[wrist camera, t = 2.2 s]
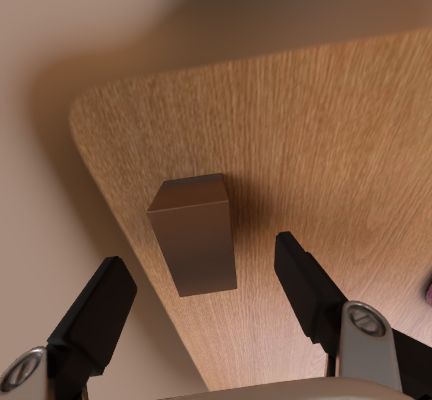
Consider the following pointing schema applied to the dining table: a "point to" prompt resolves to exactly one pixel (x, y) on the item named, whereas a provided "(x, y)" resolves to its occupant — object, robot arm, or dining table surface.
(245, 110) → the dining table surface
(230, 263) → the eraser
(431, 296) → the bowl
